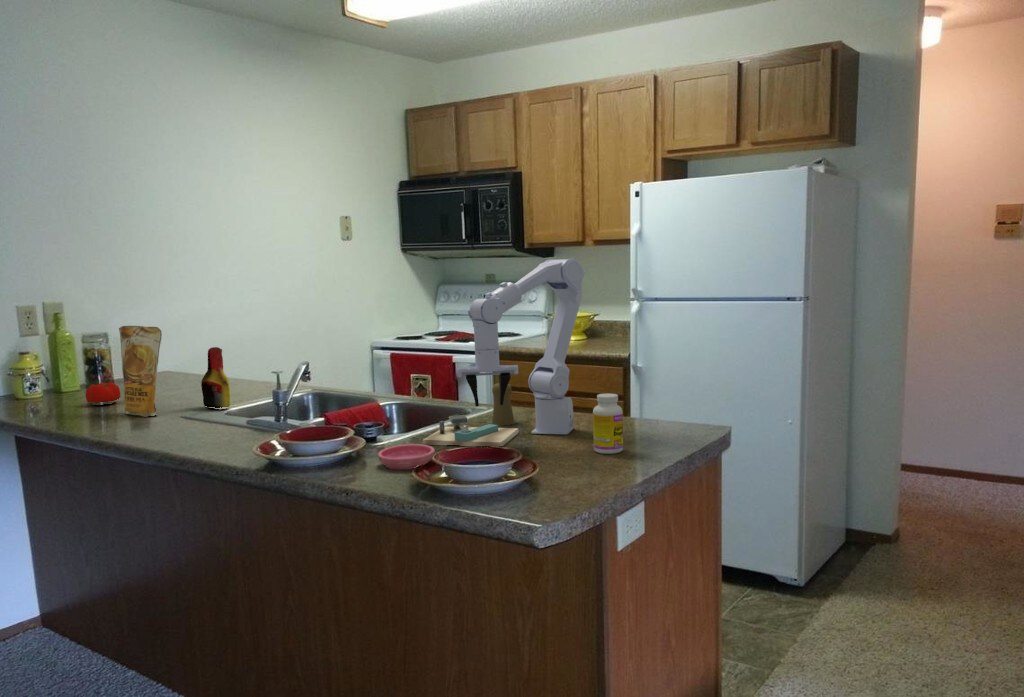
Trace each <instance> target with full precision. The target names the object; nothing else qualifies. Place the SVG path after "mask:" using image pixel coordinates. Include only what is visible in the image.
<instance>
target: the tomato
mask: <svg viewBox="0 0 1024 697" xmlns="http://www.w3.org/2000/svg"><path fill="white" fill-rule="evenodd" d="M119 398H120V399H121V390H120V387H119V386H118V385H117V384H116V383H115V382H112V381H109V382H99V383H97V384H90V385H89V386H88V387H87V388H86V391H85V399H86V401H87V403H88V402H93V403H94V402H95V403H98V402H108V401H114V400H117V399H119ZM120 399H119V400H120Z"/></svg>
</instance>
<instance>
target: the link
mask: <svg viewBox="0 0 1024 697" xmlns="http://www.w3.org/2000/svg"><path fill="white" fill-rule="evenodd" d="M498 428H499V426H498V425H493V424H492V423H488V424H485V425H481V426H478V428H475V429H472V430H468V431H469V432H468V433H463V430H461V431H458V432H455V440H460V441H470V440H473V439H476V438H477V437H480V436H483V435H486V434H489V433H492V432H495V431H498Z"/></svg>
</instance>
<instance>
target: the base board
mask: <svg viewBox="0 0 1024 697" xmlns="http://www.w3.org/2000/svg"><path fill="white" fill-rule="evenodd" d="M478 427H479V426H478ZM478 427H475V426H474V427H473V426H468V430H472V429H475V428H478ZM444 429H445V433H444V434H440V429H438V430H437V431H435V432H434V433H432V434H430V435H428V436H427V437H425V438H423V439H422V445H428V446H447V445H460V446H459V447H476V446H502V447H504V445H506V444H507V443H508V442H510V441H511V440H512V439H513V438H514V437H516V436H517V435H518V434H519V433H520V432H519V428H516V427H514V428H513V427H509V428H508V427H498V431H495V432H492V433H489V434H486V435H483V436H480V437H477V438H476V439H473V440H470V441H460V440H455V432H458V431H461V430H463V427H462V426H461V428H460V429H454V426H444Z"/></svg>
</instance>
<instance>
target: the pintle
mask: <svg viewBox="0 0 1024 697" xmlns="http://www.w3.org/2000/svg"><path fill="white" fill-rule="evenodd" d="M461 427H463V433H468V432H469V431H468V427H469V425H468V424H466V425H465V424H464V425H462V426H461Z"/></svg>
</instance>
